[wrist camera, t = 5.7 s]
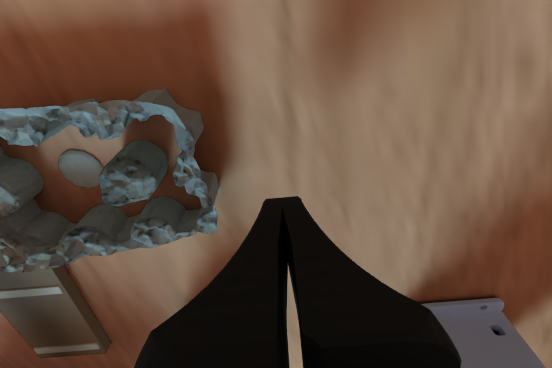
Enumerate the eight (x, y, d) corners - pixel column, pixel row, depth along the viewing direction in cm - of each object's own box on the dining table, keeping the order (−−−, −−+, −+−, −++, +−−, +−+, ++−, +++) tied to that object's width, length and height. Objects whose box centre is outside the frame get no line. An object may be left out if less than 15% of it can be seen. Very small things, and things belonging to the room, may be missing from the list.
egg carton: (48, 225, 18) (-8, 279, 14) (-26, 96, 14) (-128, 126, 10) (228, 212, 17) (217, 264, 14) (203, 78, 14) (180, 103, 10)
